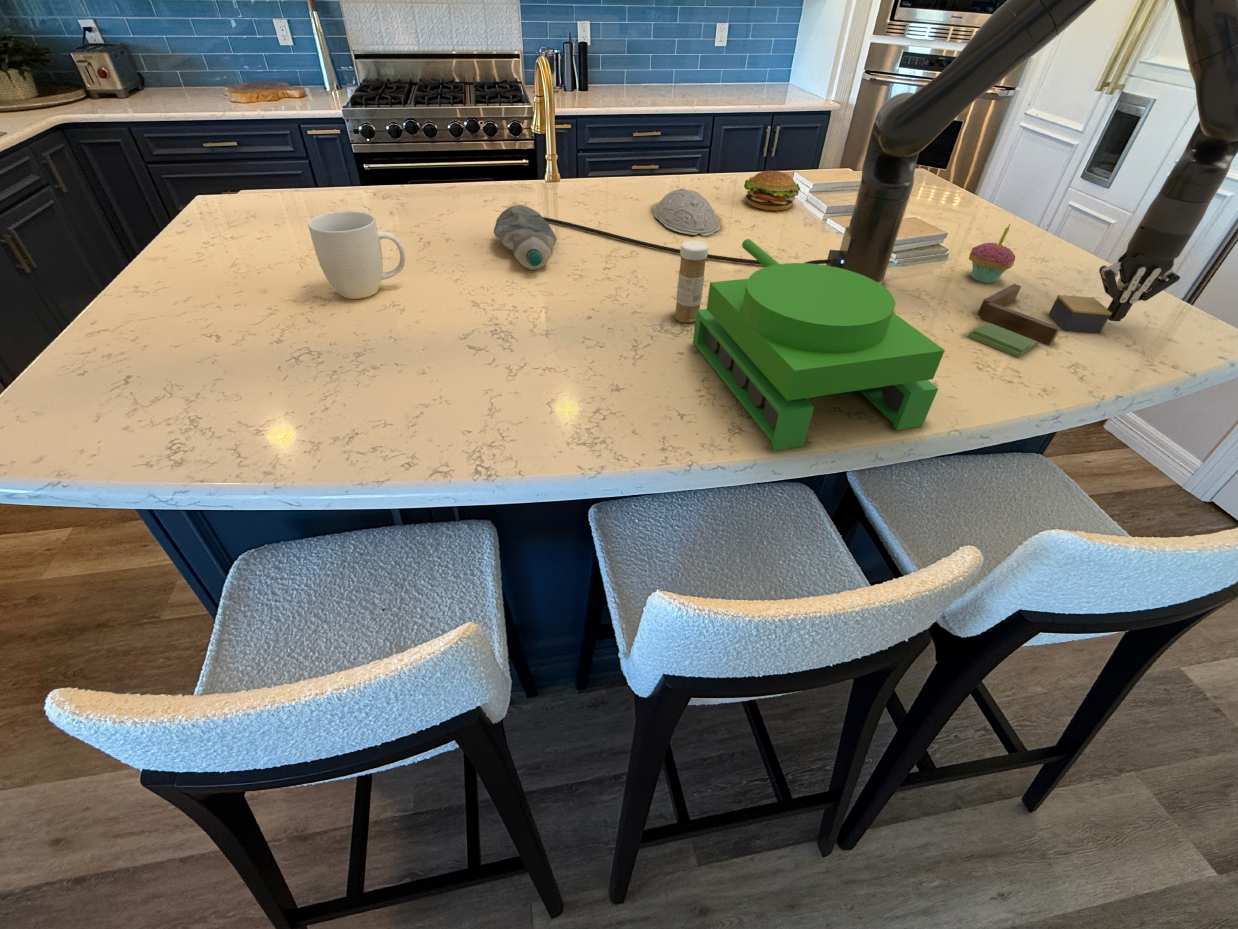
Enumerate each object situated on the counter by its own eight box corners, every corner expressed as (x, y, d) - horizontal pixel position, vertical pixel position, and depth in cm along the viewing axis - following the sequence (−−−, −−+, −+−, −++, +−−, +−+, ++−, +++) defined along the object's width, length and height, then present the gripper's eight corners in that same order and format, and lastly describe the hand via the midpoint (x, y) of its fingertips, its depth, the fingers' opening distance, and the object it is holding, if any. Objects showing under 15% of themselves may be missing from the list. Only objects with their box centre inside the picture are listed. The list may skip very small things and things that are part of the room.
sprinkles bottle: (690, 310, 116) (699, 237, 107) (704, 321, 112) (713, 247, 104) (669, 315, 114) (676, 241, 105) (682, 326, 111) (690, 250, 102)
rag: (967, 336, 112) (970, 329, 111) (986, 326, 115) (989, 319, 114) (1018, 357, 106) (1021, 350, 105) (1036, 345, 110) (1039, 338, 109)
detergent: (492, 234, 141) (498, 277, 122) (491, 201, 137) (498, 240, 118) (550, 237, 144) (565, 279, 125) (551, 204, 140) (567, 243, 121)
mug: (408, 274, 123) (395, 206, 115) (414, 298, 116) (401, 226, 107) (326, 283, 119) (307, 212, 111) (327, 308, 111) (306, 234, 103)
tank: (803, 316, 115) (825, 226, 105) (925, 425, 90) (970, 321, 79) (680, 330, 110) (689, 236, 99) (772, 451, 84) (799, 342, 74)
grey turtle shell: (704, 199, 165) (705, 172, 160) (730, 238, 147) (732, 209, 142) (646, 205, 164) (645, 179, 159) (665, 246, 146) (664, 217, 141)
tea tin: (1062, 330, 115) (1073, 310, 112) (1047, 314, 120) (1057, 294, 117) (1100, 333, 114) (1112, 313, 112) (1083, 316, 119) (1094, 297, 117)
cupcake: (1009, 288, 128) (1036, 229, 121) (966, 284, 129) (990, 225, 122) (999, 272, 135) (1024, 215, 127) (957, 268, 136) (979, 211, 128)
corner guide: (997, 341, 111) (1004, 325, 109) (962, 294, 125) (968, 280, 124) (1055, 345, 110) (1063, 330, 108) (1012, 298, 125) (1019, 283, 123)
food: (806, 204, 167) (813, 172, 162) (779, 216, 158) (785, 183, 153) (761, 192, 173) (766, 161, 168) (733, 203, 165) (738, 171, 160)
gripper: (1195, 219, 107) (1138, 313, 119) (1115, 214, 108) (1066, 307, 119) (1223, 235, 102) (1160, 332, 113) (1139, 229, 102) (1084, 326, 113)
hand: (1112, 319), depth 116 cm, fingers closed
